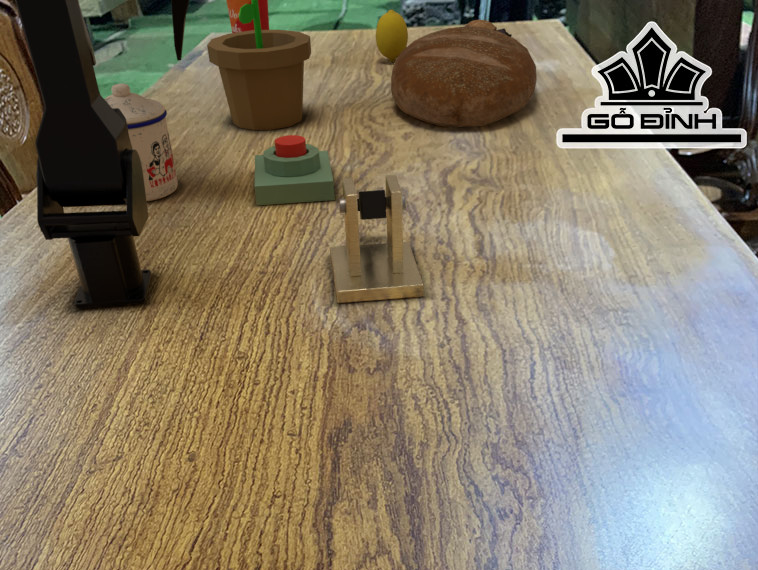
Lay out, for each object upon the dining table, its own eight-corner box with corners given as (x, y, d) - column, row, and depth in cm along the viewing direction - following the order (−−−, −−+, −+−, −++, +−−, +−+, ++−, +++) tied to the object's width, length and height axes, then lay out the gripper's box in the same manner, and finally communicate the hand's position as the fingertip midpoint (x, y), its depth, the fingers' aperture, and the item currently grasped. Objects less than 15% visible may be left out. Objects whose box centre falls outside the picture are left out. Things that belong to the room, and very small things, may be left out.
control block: (334, 200, 96) (332, 164, 93) (256, 205, 95) (252, 170, 93) (328, 168, 104) (326, 135, 101) (257, 173, 103) (253, 139, 101)
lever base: (330, 258, 84) (324, 169, 78) (409, 252, 84) (408, 163, 78) (337, 303, 76) (330, 208, 70) (423, 296, 77) (423, 201, 71)
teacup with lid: (167, 205, 96) (145, 96, 88) (92, 204, 97) (64, 96, 89) (196, 169, 105) (178, 68, 98) (127, 169, 106) (105, 68, 98)
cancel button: (307, 159, 96) (305, 143, 95) (276, 161, 96) (274, 145, 95) (306, 149, 99) (304, 134, 98) (275, 151, 99) (274, 136, 97)
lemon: (372, 65, 144) (370, 12, 138) (381, 57, 148) (380, 6, 142) (403, 66, 142) (402, 13, 137) (411, 59, 146) (411, 6, 141)
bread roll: (475, 51, 150) (476, 28, 147) (444, 43, 155) (445, 21, 152) (517, 41, 154) (518, 18, 152) (486, 34, 159) (487, 12, 157)
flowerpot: (296, 137, 114) (271, -139, 95) (202, 131, 117) (158, -137, 98) (329, 108, 124) (313, -147, 105) (242, 103, 128) (209, -144, 108)
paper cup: (227, 67, 146) (214, -27, 137) (268, 61, 148) (259, -32, 139) (240, 76, 140) (228, -21, 131) (283, 70, 143) (274, -25, 133)
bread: (380, 132, 114) (378, 65, 109) (400, 66, 142) (400, 10, 137) (540, 132, 113) (546, 64, 107) (529, 65, 140) (534, 8, 135)
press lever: (343, 218, 86) (341, 193, 85) (386, 215, 86) (384, 190, 85) (349, 220, 75) (347, 192, 74) (399, 217, 75) (397, 188, 74)
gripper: (201, -126, 87) (224, 42, 97) (19, -118, 85) (61, 51, 95) (196, -120, 78) (222, 63, 88) (-6, -112, 77) (43, 74, 87)
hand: (136, 62), depth 90 cm, fingers open, 9 cm apart
